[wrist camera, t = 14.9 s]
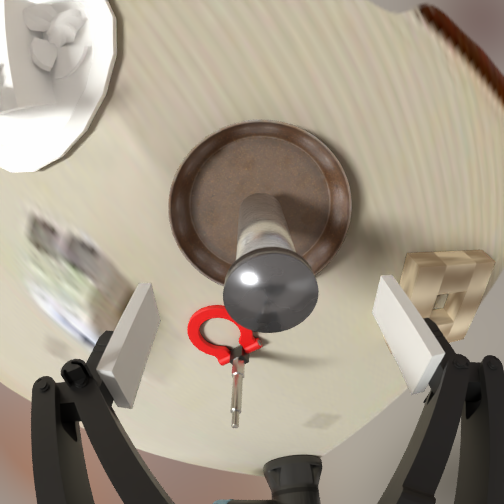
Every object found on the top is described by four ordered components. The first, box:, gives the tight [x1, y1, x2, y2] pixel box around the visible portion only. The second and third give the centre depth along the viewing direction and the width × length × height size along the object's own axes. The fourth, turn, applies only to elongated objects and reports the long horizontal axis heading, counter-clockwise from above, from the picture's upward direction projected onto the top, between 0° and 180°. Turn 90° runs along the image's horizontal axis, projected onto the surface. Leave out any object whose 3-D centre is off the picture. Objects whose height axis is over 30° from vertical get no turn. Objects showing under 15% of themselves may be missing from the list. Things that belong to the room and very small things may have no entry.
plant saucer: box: [168, 120, 352, 286], centre depth 29 cm, size 18×18×3 cm
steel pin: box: [223, 193, 318, 333], centre depth 22 cm, size 5×5×13 cm
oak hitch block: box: [383, 250, 495, 354], centre depth 34 cm, size 14×14×4 cm
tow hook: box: [188, 305, 262, 428], centre depth 32 cm, size 8×13×9 cm
